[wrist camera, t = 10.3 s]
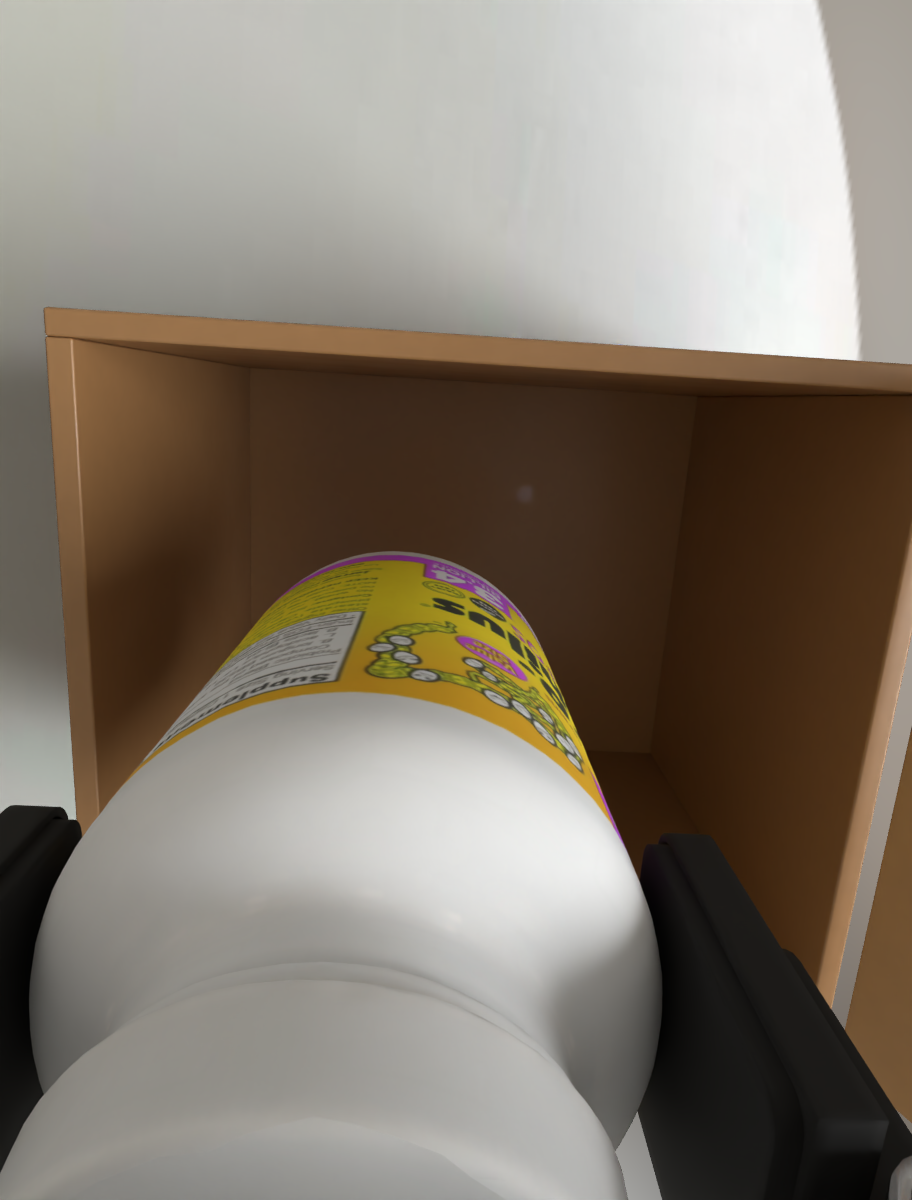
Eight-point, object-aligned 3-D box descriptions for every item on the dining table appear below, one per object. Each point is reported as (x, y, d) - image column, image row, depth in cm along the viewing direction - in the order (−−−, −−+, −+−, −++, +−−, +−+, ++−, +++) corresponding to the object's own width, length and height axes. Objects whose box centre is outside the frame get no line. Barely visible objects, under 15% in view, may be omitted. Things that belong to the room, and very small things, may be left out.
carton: (707, 383, 29) (970, 367, 15) (656, 758, 32) (827, 1035, 18) (239, 352, 28) (41, 305, 14) (241, 740, 32) (88, 1012, 18)
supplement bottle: (595, 750, 18) (966, 1573, 5) (338, 869, 18) (134, 1857, 6) (463, 486, 16) (553, 780, 4) (187, 626, 17) (-519, 1277, 4)
